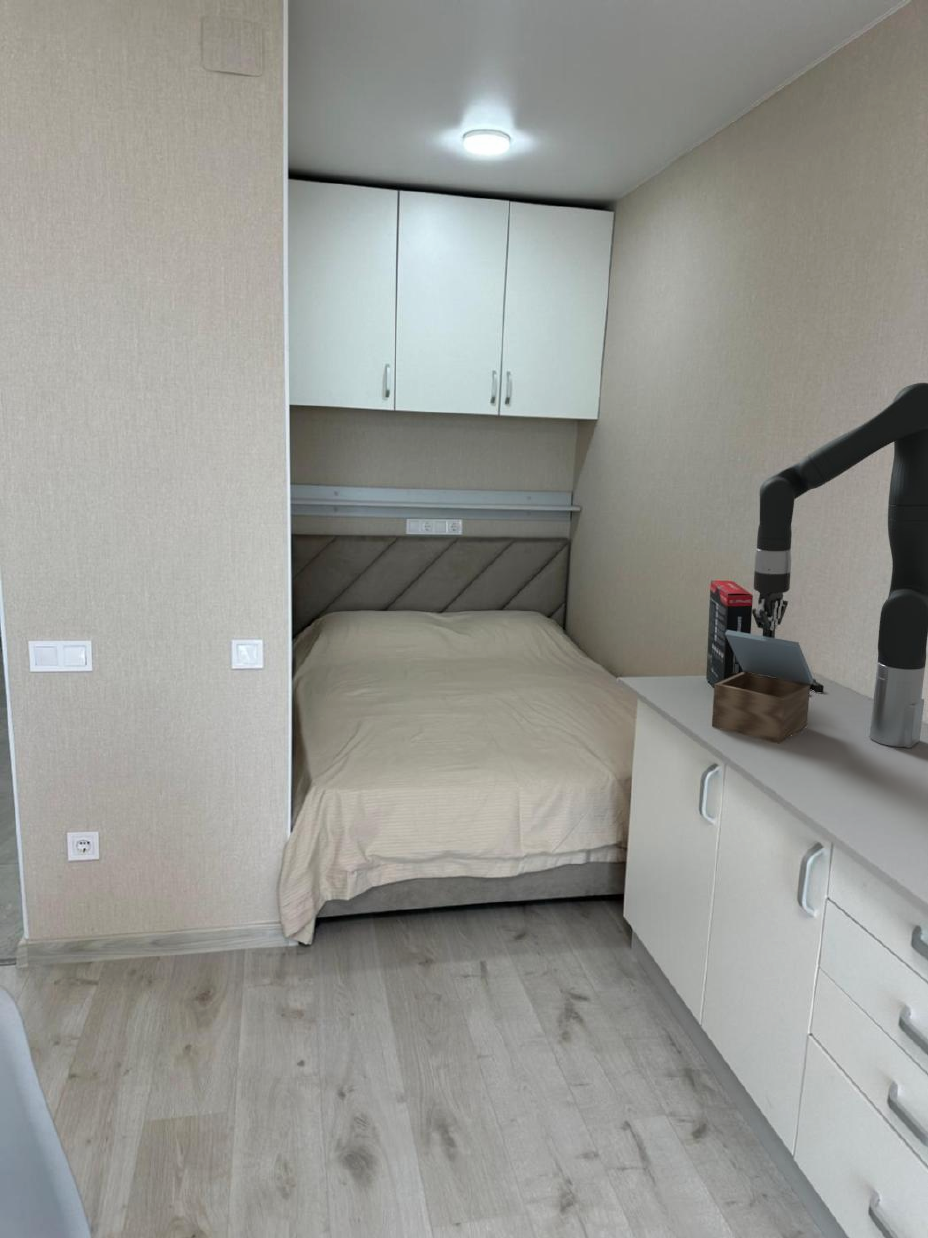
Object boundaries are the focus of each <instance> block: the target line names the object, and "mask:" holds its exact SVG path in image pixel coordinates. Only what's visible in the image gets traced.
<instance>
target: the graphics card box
mask: <svg viewBox="0 0 928 1238" xmlns="http://www.w3.org/2000/svg"><path fill="white" fill-rule="evenodd" d="M709 585H710V586H709V587H710V588H709V589H710V590H709V606H708V607H709V610H708V632H707V653H706V677H705V678H706V680H707V682H708V683H709V684H710V686H712V688H713V689H714V684H716V683H718V682H721V681H723V680H725V679H727V678H730V677H732V676H734V675H736V674H739V673H741V672H743V671H744V670H742V668H741V666H740V664H739V662H738V660H737V658H736V656H735V654H734V652H733V650H732V647H731V645H730V643H729V641H728V639H727V637H726V635H725V633H726V631H727V630H731V631H737V632H742V633H748V634H752V619H753V617H752V616H753V614H752V610H753V603H754V601H753V599H754V595H753V594H751V592H749V591H747V590H746V589H745V588H743V587H741V586H740V585H738V584H737V583H736V582H735V581H732V580H710V584H709ZM745 672H746V671H745Z"/></svg>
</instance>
